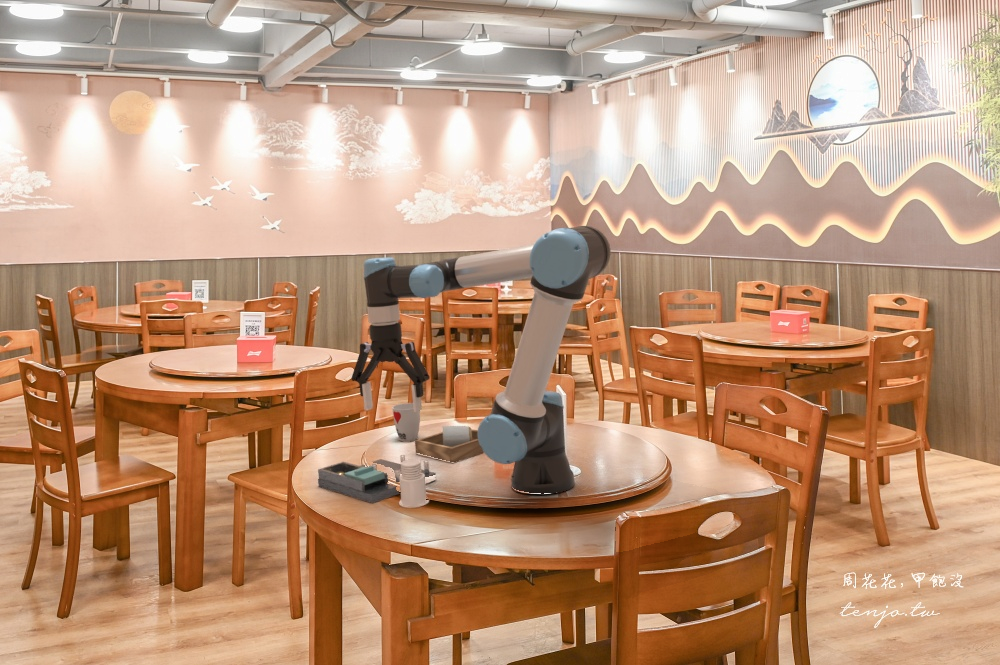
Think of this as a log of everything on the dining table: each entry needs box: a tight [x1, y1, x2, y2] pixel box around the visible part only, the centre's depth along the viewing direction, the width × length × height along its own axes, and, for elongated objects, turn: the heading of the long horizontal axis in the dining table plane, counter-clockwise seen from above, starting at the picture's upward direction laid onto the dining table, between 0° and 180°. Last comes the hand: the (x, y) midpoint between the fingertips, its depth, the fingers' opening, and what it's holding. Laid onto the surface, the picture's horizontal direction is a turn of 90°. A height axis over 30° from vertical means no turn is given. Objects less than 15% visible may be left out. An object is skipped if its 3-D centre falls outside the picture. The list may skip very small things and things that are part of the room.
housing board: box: [317, 454, 437, 504], centre depth 226 cm, size 22×20×5 cm
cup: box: [391, 402, 421, 443], centre depth 266 cm, size 8×8×10 cm
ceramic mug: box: [442, 425, 472, 447], centre depth 251 cm, size 11×8×8 cm
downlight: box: [398, 458, 430, 509], centre depth 209 cm, size 8×7×10 cm
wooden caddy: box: [414, 428, 485, 463], centre depth 250 cm, size 15×17×4 cm
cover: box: [344, 466, 385, 485], centre depth 219 cm, size 8×6×2 cm
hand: (393, 410), depth 218 cm, fingers open, 13 cm apart
